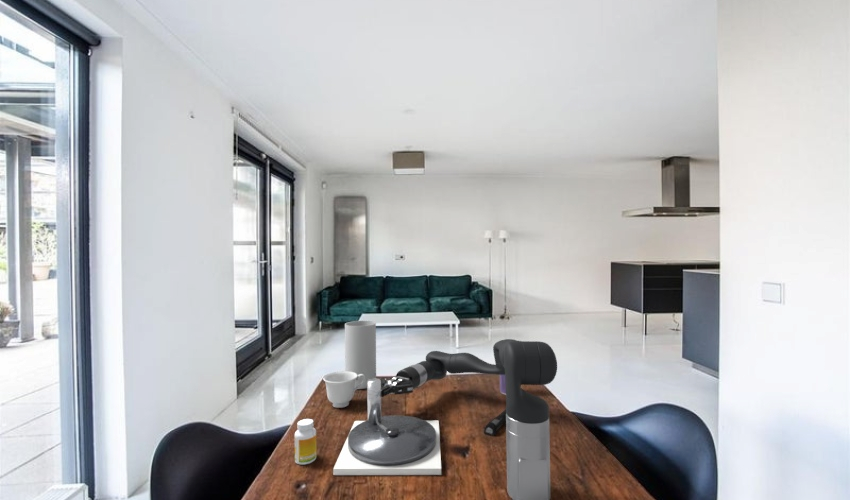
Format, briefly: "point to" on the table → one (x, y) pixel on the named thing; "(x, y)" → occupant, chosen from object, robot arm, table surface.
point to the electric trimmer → (495, 424)
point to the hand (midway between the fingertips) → (379, 393)
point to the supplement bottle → (305, 442)
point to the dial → (389, 435)
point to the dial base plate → (420, 467)
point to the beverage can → (502, 384)
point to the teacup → (342, 387)
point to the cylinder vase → (361, 350)
